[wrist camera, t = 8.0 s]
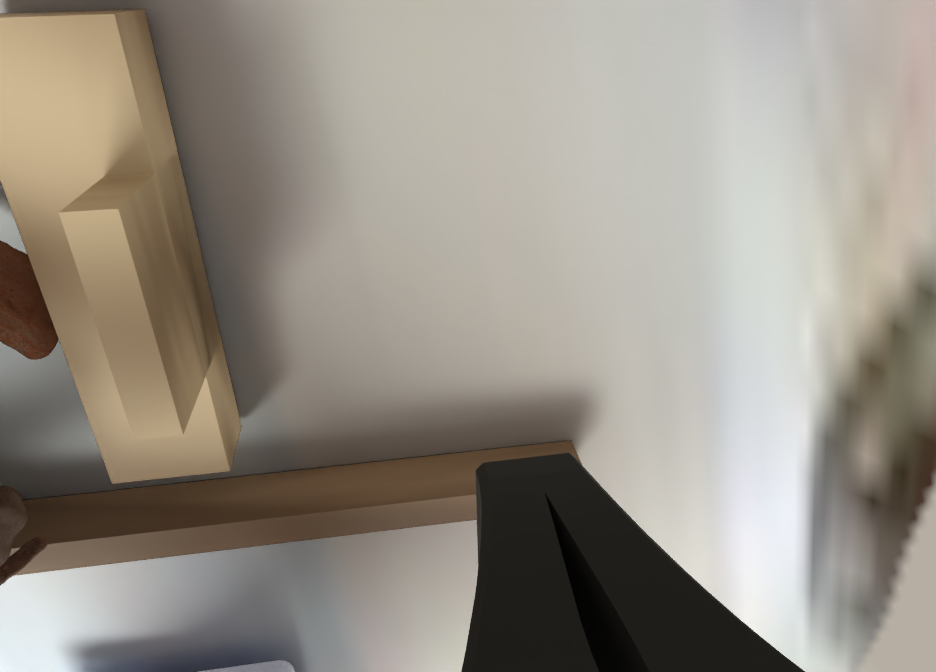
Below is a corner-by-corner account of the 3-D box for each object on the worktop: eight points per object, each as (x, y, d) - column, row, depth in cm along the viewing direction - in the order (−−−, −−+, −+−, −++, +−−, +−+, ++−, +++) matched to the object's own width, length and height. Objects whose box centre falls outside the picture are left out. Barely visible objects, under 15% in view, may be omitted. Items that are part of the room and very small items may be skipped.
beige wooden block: (241, 426, 19) (212, 537, 16) (134, 437, 19) (77, 553, 15) (144, 9, 14) (64, 21, 10) (-6, 13, 14) (-146, 29, 10)
